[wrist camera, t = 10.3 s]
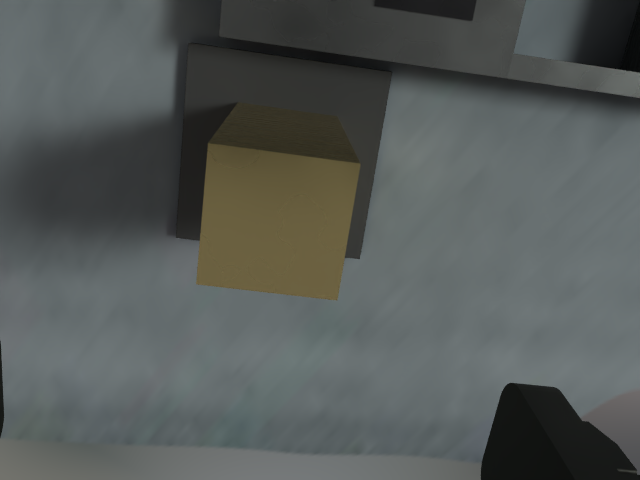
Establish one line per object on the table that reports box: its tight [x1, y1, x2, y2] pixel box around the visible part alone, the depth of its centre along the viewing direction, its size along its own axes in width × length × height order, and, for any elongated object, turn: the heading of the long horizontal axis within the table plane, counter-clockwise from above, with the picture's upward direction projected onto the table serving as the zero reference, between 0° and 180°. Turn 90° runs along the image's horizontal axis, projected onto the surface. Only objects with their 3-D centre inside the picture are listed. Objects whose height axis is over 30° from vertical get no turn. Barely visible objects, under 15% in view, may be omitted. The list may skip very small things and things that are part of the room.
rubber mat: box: [176, 43, 392, 259], centre depth 28 cm, size 9×9×1 cm
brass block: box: [196, 102, 361, 300], centre depth 23 cm, size 4×4×10 cm
